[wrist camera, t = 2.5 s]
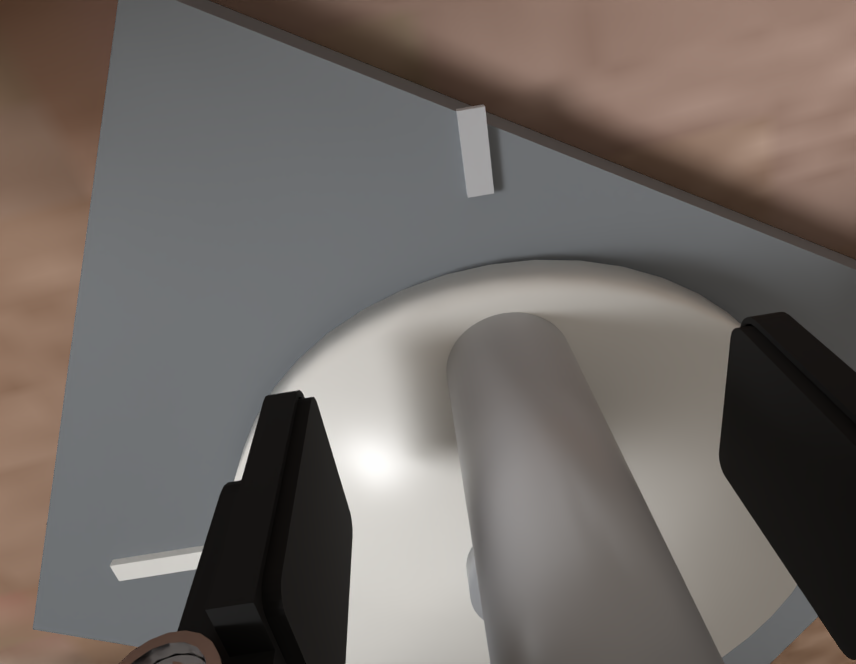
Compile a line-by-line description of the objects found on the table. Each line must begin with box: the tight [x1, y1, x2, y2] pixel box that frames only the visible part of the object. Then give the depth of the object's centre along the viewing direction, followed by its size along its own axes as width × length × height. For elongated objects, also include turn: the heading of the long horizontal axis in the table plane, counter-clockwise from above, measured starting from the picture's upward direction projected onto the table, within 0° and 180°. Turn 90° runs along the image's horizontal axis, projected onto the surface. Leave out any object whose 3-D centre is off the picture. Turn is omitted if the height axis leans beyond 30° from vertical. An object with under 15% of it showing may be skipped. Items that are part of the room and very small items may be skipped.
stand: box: [33, 0, 856, 664], centre depth 17 cm, size 22×17×2 cm
